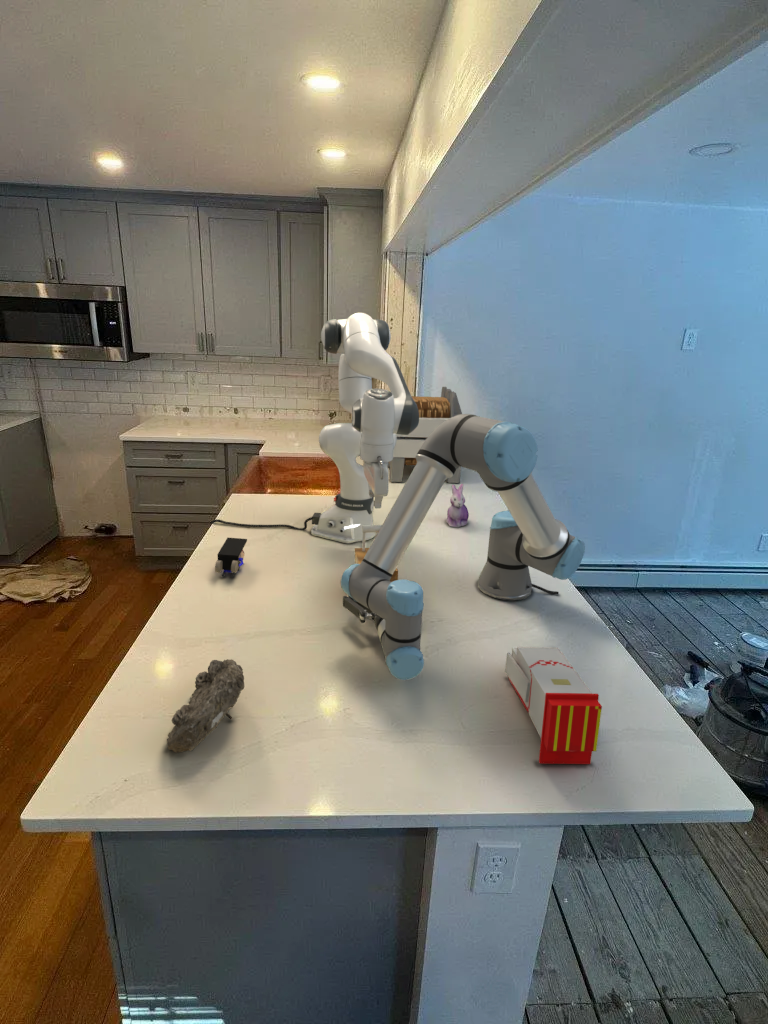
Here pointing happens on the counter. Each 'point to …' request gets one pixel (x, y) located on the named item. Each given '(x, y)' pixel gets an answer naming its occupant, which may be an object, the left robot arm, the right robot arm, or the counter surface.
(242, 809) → the counter surface
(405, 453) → the transformer
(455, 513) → the figurine
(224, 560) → the figurine character
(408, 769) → the counter surface
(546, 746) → the toy
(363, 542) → the lid
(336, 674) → the counter surface
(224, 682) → the grey brown lumpy piece
